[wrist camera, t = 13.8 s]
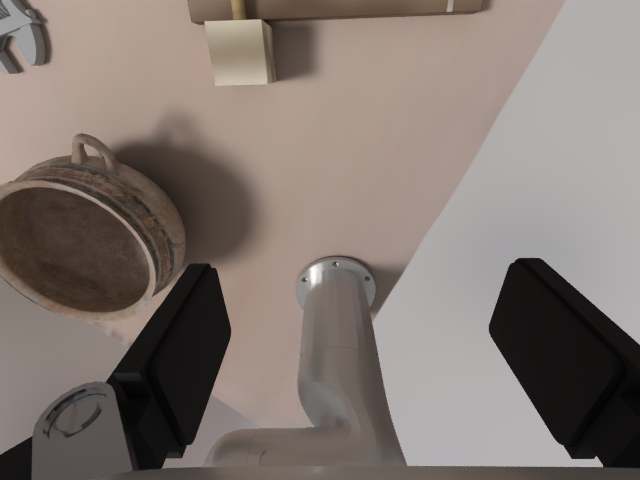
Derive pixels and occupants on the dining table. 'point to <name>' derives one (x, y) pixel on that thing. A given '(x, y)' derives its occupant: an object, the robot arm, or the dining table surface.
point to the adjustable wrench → (20, 34)
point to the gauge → (241, 49)
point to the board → (328, 9)
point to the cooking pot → (88, 235)
